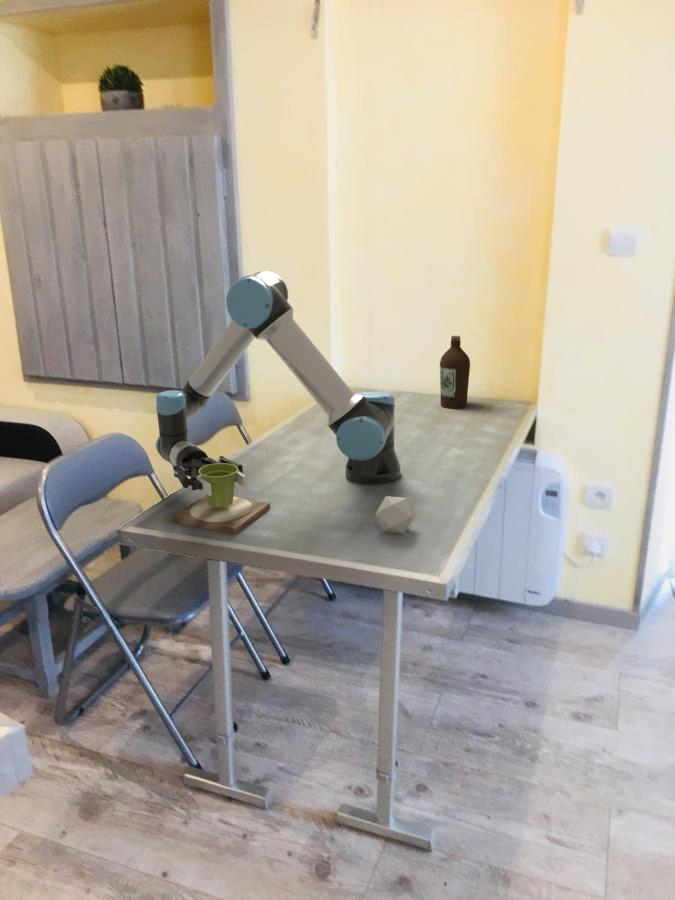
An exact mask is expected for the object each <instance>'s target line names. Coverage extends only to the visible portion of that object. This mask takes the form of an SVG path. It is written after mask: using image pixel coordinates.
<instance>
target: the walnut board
mask: <svg viewBox="0 0 675 900" xmlns="http://www.w3.org/2000/svg"><path fill="white" fill-rule="evenodd" d="M270 509H271V503H270V502H267V501H261V500H254V499H249V498H244V497H243V498H242V497H237V496H234V497H233V503H232V504H231V505H229V506H226V507H221V506H218V507H212V506H209V505H208V503H207V498H206V494H204V495H203V496H201V497H199V498H197V500H194V501H193V502H191V503H190V504H188V505H187V506H185V507H183V508H182V509H180V510H179V511H177V512H176V513H174V514H172V515H171V523H175V524H178V525H185V526H189V527H191V526H192V527H194V528H195V527H196V528H200V529H206V530H211V531H217V532H222V533H226V534H232V535H238V534H239V533H240V532H241V531H242V530H244V529H245V528H247V527H248V526H249V525H250V524H252V523H253V522H254V521H255V520H256V521H257V519H259V518H260V517H261V516H262V515H264V514H265V513H266V512H268V511H269V510H270Z"/></svg>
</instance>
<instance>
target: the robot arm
mask: <svg viewBox="0 0 675 900" xmlns="http://www.w3.org/2000/svg"><path fill="white" fill-rule="evenodd" d="M288 299H289V291H288V287H287V284H286V282H285V280H283V278H282V277H281V276H279V275H278V274H277V273H275V272H271V271H267V270H266V271H265V270H264V271H263V270H262V271H257V272H256V273H255V272H254V273H253V274H250V275H244V276H242V277H241V278H240V279H237V281H235V282H234V283H233V284H232V285H231V286H230V288H229V289H228V292H227V294H226V303H225V304H226V306H225V307H226V309H227V313H228V315H229V317H230V318H231V321H230V322H229V323H228V325H227V326H226V328H225V329H224V330H223V332H222V333H221V335H220V336H219V338H218V339H217V340H216V342H215V343H214V344H213V345H212V348H211V349H210V350H209V351H208V353H207V354H206V356H205V357H204V358H203V359H202V361H201V362H200V364H199V365H198V366H197V368H196V369H195V370H194V372H193V373H192V375H191V376H190V377H189V379H188V380H187V382H186V383H185V385H184V386H183V387H182V389H180V390H176V389H175V390H164V391H162V392H159V393H158V394H157V395H156V397H155V399H156V405H155V410H156V415H157V416H156V417H157V423H158V424H157V425H158V432H159V436H158V437H157V440H156V442H155V448H156V452H157V454H158V455H159V456H160V457H161V458H162V459H163V460H164V461H167V463H169V464H171V465H172V466H173V469H172V470H173V477H174V478H176V479H178V481H179V483H180V485H182V487H183V488H184V489H189V487H191V490H192V491H197V490H199V491H202V492H203V493H204V494H205V495H206V494H207V495H208V496H210V495H212V491H211V484H210V483H208V482H207V481H206V480H204V479H202V478H201V475H200V474H199V473H198V470H199V469H200V468H201V467H203V466H205V465H209V464H215V463H228V464H232V465H235V466H237V467H238V472H237V474H236V478H235V483H237V484H238V485H239V486H241V487H242V488H246V487H247V476H246V475H245V474H244V469H243V467H244V466H243V464H241V463H239V462H237V461H233V460H230V459H229V458H227V457H225V456H224V455H220V456H219V457H218V458H217V459H214V458H211V457H209V456H208V455H207V453H206V452H205V451H204V450H203V449H201V448H200V447H198V446H197V445H195V444H193V443H192V442H190V441H189V429H188V420H190V419H191V418H192V417H194V416H195V415H196V414H199V412H201V411H203V410H204V409H205V408H206V407H207V405H208V404H209V401H210V398H211V396H212V395H213V394H214V393H215V391H216V390H217V389H218V388H219V386H220V384H222V382H223V381H224V379H225V378H226V377H227V375H228V374H229V373H230V371H231V370H232V368H233V367H234V366H235V364H237V362H238V361H239V360H240V358H241V357H242V356H243V354H244V353H245V351H246V350H247V349H248V347H249V346H250V345H251V344H252V343H253V341H254V340H255V339H256V340H259V341H260V340H262V341H265V342H266V343H267V344H268V346H270V347H271V348H272V350H273V351H274V352H275V353H276V354H277V356H278V357H279V358H280V360H281V361H282V362H283V364H285V365H286V367H287V368H288V369H289V370H290V372H291V373H292V374H293V375H294V376H295V378H296V379H297V380H298V381H299V383H300V384H301V385H302V387H303V388H305V390H306V392H308V394H309V395H310V396H311V397H312V398H313V400H314V401H315V402H316V403H317V405H318V406H319V407H320V408H321V410H323V412H324V414H325V415H326V416H327V417H326V425H327V426H328V427H329V429H330V430H331V431H332V433H333V434H334V435H335V439H336V445H337V447H338V449H339V451H340V452H341V453H342V454H343V455H344V456H345V457H347V461H346V464H345V477H346V478H347V479H349V480H350V481H352V482H354V483H359V484H366V485H379V484H380V485H381V484H387V483H390V482H394V481H395V480H398V479H399V478H400V476H401V463H400V461H399V459H398V455H397V453H396V449H395V407H396V404H395V397H394V395H392V394H391V393H387V392H380V391H379V392H378V391H375V392H374V391H369V392H368V391H367V392H366V391H365V392H364V391H363V392H355V393H354V392H353V390H352V389H350V387H349V386H348V385H347V383H346V382H345V380H344V379H343V378H342V377H341V376H340V375H339V373H338V372H337V371H336V370H335V369H334V367H333V366H332V365H331V364H330V362H329V361H328V359H327V358H325V356H324V355H323V354H322V352H321V351H320V349H318V348H317V346H316V345H315V344H314V343H313V342H312V341H313V340H311V338H309V337H308V335H307V334H306V333H305V331H304V330H303V329H302V328H301V327H300V325H299V324H298V322H296V321H295V319H294V308H293V306H291V305H290V302H288ZM189 477H190V478H189Z"/></svg>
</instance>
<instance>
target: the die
mask: <svg viewBox="0 0 675 900" xmlns="http://www.w3.org/2000/svg"><path fill="white" fill-rule="evenodd" d="M375 516H376V518H377V521H378V523H379V525H380V527H381V530H382V532H385V533H395V534H403V535H404V534H406V533H407V530H409V526H410V525H411V523H412V522H413V521H414V518H415V514H414V511H413V509H412V505H411V504H410V501H409V499H408V497H402V496H401V497H400V496H389V495H388V496H387V495H385V497H384V498H383V499H382V502H381V503H380V505H379V507H378V508H377V510H376V512H375Z"/></svg>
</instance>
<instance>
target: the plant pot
mask: <svg viewBox="0 0 675 900" xmlns="http://www.w3.org/2000/svg"><path fill="white" fill-rule="evenodd" d="M237 472H238V467H237V466H235V465H232V464H228V463H215V464H209V465H205V466H203V467H201V468H200V469H199V470H198V473H199V474H200V475H199V476H200V477H201V478H202V479H204V480H206V481H207V482H208V483H210V484H211V491H212V495H210V496H208V495H207V494H206V493H205V495H206V498H207V503H208V505H209V506H212V507H218V506H221V507H226V506H229V505H231V504H232V503H233V497H235V496H234V494H235V483H236V482H235V478H236V474H237Z"/></svg>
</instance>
